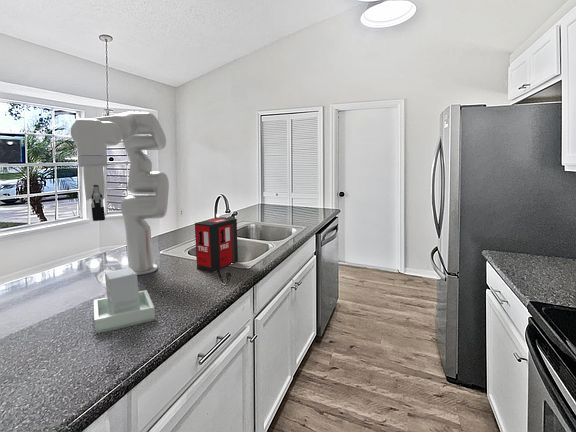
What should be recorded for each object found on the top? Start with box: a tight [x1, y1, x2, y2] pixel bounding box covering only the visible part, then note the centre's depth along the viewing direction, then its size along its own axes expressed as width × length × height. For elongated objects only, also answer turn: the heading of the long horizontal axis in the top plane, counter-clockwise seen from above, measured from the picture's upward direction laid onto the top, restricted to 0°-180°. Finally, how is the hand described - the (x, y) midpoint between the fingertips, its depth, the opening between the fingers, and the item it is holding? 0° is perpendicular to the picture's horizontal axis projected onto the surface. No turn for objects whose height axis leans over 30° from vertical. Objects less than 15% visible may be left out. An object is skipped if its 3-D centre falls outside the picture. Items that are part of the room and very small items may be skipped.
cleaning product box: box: [194, 216, 239, 273], centre depth 145 cm, size 16×9×20 cm, turn 150°
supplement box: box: [104, 267, 140, 315], centre depth 99 cm, size 7×7×13 cm
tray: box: [93, 289, 156, 334], centre depth 99 cm, size 15×15×4 cm
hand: (98, 218), depth 103 cm, fingers open, 9 cm apart
